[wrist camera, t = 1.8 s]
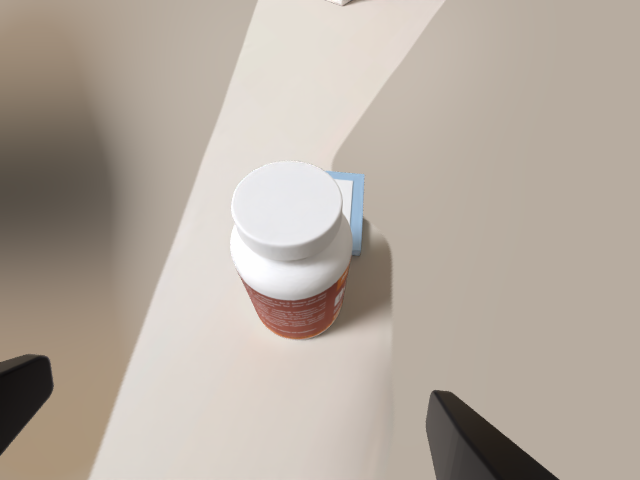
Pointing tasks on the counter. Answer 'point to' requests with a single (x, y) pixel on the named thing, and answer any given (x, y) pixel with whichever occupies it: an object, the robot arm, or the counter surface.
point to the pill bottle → (292, 246)
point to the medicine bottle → (339, 2)
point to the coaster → (352, 203)
